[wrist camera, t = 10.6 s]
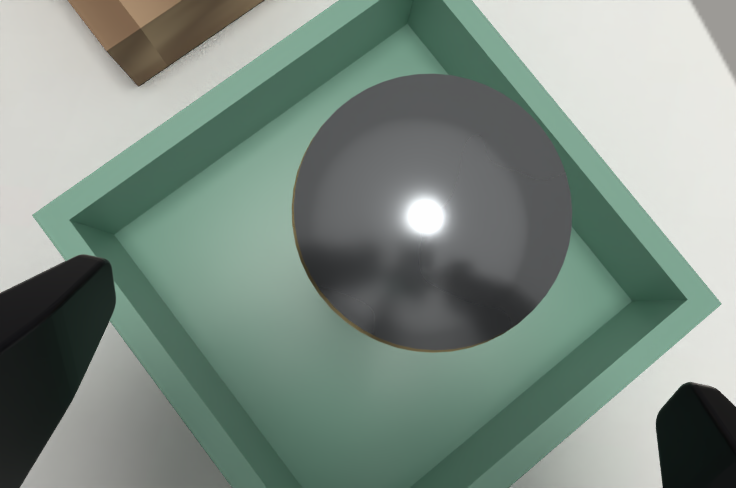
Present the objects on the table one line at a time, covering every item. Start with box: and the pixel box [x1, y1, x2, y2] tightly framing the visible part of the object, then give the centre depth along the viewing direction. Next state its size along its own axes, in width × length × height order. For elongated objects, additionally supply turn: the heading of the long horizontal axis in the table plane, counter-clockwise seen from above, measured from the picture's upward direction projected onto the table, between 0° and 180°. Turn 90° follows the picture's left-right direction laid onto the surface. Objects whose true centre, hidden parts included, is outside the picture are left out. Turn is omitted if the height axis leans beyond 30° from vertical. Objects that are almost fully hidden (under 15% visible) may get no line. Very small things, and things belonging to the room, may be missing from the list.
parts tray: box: [32, 0, 721, 488], centre depth 19 cm, size 16×16×4 cm
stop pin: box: [292, 74, 572, 353], centre depth 14 cm, size 4×4×13 cm
